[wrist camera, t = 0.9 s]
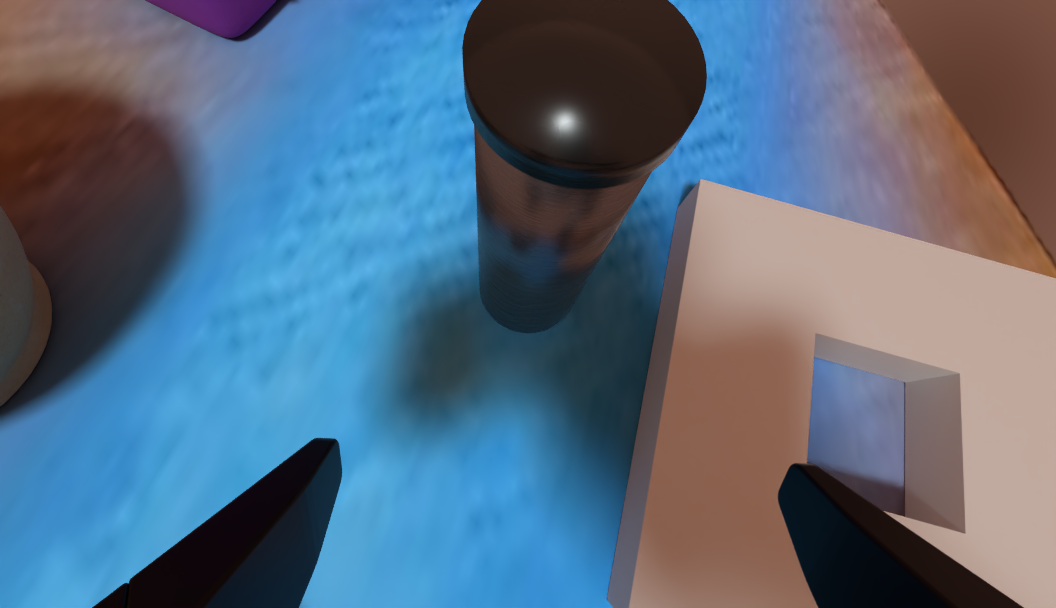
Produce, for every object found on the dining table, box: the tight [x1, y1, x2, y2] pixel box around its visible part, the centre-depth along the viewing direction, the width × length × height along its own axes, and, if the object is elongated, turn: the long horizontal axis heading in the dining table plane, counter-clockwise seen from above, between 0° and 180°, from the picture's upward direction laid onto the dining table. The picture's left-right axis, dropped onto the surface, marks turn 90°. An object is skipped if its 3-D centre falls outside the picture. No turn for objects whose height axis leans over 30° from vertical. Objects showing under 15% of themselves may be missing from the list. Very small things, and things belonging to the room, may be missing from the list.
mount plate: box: [607, 179, 1056, 608], centre depth 22 cm, size 20×20×3 cm
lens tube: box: [462, 0, 707, 333], centre depth 17 cm, size 5×5×15 cm
